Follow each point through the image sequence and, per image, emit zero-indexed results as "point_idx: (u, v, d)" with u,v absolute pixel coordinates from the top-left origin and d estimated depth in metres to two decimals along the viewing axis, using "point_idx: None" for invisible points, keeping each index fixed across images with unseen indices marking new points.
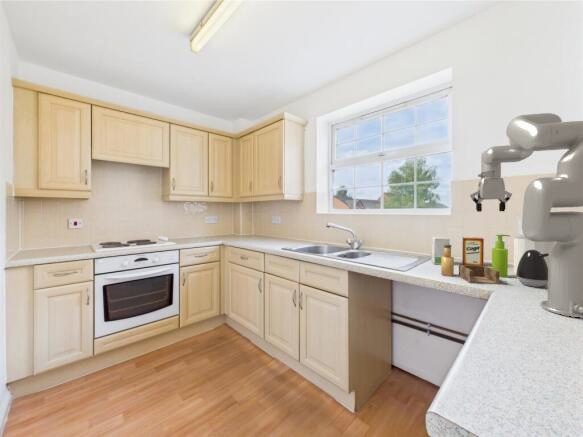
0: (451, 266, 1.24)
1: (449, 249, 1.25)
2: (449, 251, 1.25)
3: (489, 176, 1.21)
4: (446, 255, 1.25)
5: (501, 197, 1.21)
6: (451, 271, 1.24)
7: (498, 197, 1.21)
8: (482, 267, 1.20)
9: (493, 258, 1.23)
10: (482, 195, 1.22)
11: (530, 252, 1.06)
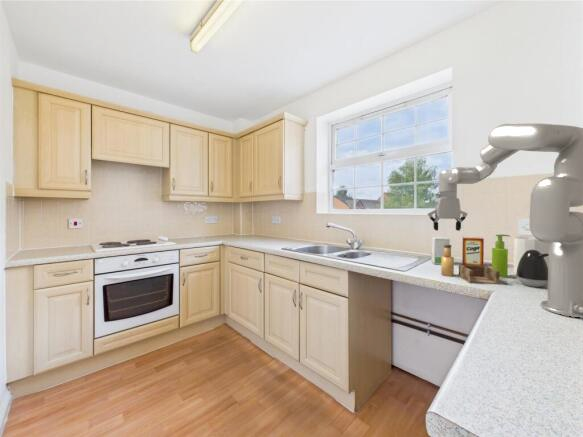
0: (451, 266, 1.24)
1: (449, 249, 1.25)
2: (449, 251, 1.25)
3: (445, 196, 1.23)
4: (446, 255, 1.25)
5: (456, 217, 1.22)
6: (451, 271, 1.24)
7: (453, 217, 1.23)
8: (482, 267, 1.20)
9: (493, 258, 1.23)
10: (438, 214, 1.24)
11: (530, 252, 1.06)
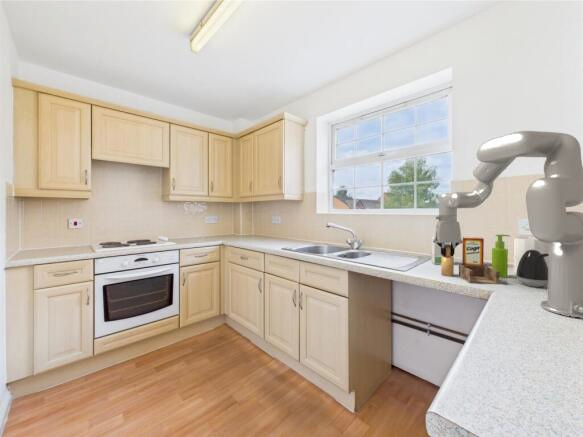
0: (451, 266, 1.24)
1: (449, 249, 1.25)
2: (449, 251, 1.25)
3: (445, 220, 1.23)
4: (446, 255, 1.25)
5: (457, 240, 1.22)
6: (451, 271, 1.24)
7: (454, 240, 1.23)
8: (482, 267, 1.20)
9: (493, 258, 1.23)
10: (439, 238, 1.24)
11: (530, 252, 1.06)
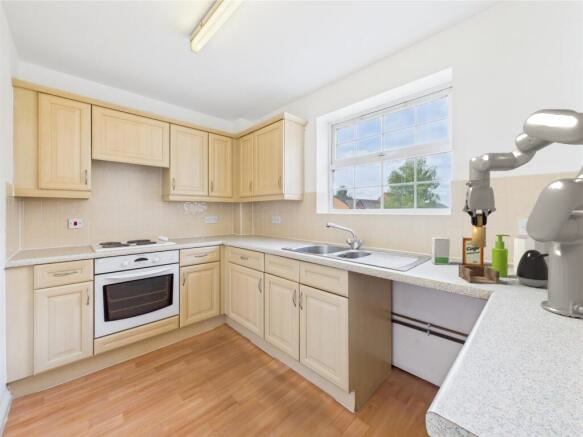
0: (483, 236, 1.13)
1: (481, 218, 1.14)
2: (481, 220, 1.14)
3: (477, 185, 1.12)
4: (477, 224, 1.15)
5: (490, 208, 1.12)
6: (483, 241, 1.13)
7: (487, 208, 1.12)
8: (482, 267, 1.20)
9: (493, 258, 1.23)
10: (470, 205, 1.14)
11: (530, 252, 1.06)
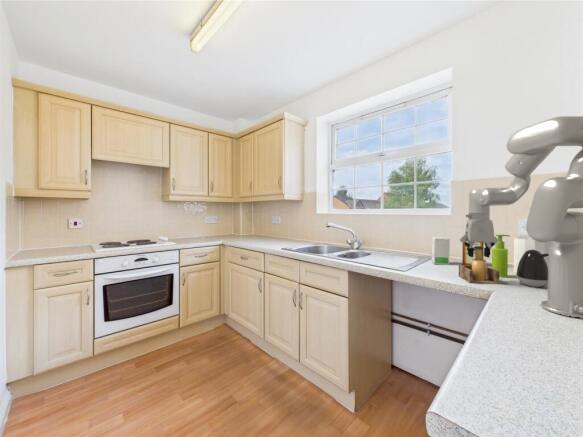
0: (483, 270, 1.14)
1: (481, 251, 1.15)
2: (481, 253, 1.15)
3: (477, 218, 1.13)
4: (478, 258, 1.15)
5: (490, 241, 1.13)
6: (483, 275, 1.14)
7: (487, 241, 1.13)
8: None
9: (493, 258, 1.23)
10: (470, 238, 1.14)
11: (530, 252, 1.06)
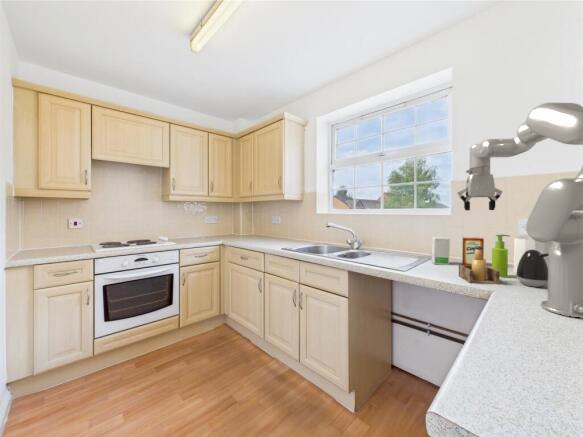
0: (483, 269, 1.14)
1: (481, 251, 1.15)
2: (481, 253, 1.15)
3: (477, 172, 1.12)
4: (477, 257, 1.15)
5: (490, 195, 1.12)
6: (483, 275, 1.14)
7: (487, 195, 1.12)
8: None
9: (493, 258, 1.23)
10: (470, 193, 1.13)
11: (530, 252, 1.06)
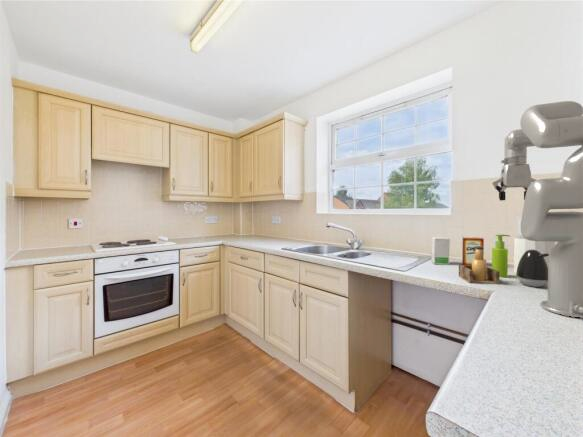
0: (483, 269, 1.14)
1: (481, 251, 1.15)
2: (481, 253, 1.15)
3: (514, 162, 1.13)
4: (478, 257, 1.15)
5: (527, 184, 1.12)
6: (483, 275, 1.14)
7: (524, 184, 1.12)
8: None
9: (493, 258, 1.23)
10: (506, 182, 1.14)
11: (530, 252, 1.06)
